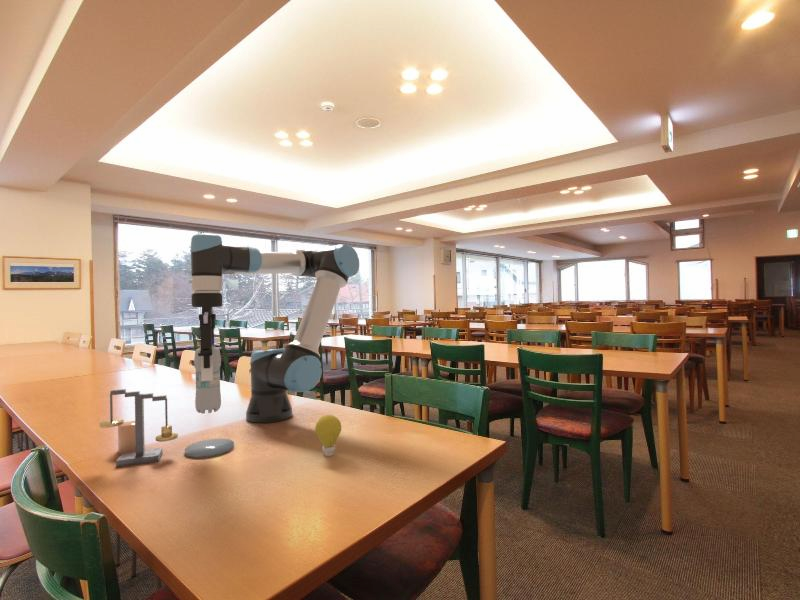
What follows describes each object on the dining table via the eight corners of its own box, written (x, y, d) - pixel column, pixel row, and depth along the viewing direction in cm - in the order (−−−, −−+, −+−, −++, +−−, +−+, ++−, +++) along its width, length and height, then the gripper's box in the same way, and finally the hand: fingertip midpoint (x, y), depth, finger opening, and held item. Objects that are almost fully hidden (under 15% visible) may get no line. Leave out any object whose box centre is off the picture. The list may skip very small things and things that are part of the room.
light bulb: (346, 451, 110) (345, 412, 110) (334, 460, 104) (333, 420, 104) (323, 448, 112) (323, 411, 112) (310, 457, 106) (309, 417, 106)
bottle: (211, 415, 109) (210, 338, 109) (188, 414, 110) (187, 338, 110) (227, 408, 115) (226, 335, 115) (205, 407, 117) (204, 335, 117)
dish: (234, 439, 120) (234, 436, 120) (233, 454, 109) (233, 450, 109) (187, 445, 116) (187, 442, 116) (181, 461, 105) (181, 457, 105)
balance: (179, 451, 112) (178, 383, 112) (176, 459, 106) (175, 387, 106) (104, 460, 106) (102, 389, 106) (96, 469, 100) (95, 394, 100)
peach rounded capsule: (146, 444, 118) (146, 419, 118) (141, 451, 112) (141, 425, 112) (121, 447, 116) (121, 422, 116) (115, 454, 110) (115, 428, 110)
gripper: (195, 293, 121) (196, 373, 120) (187, 291, 102) (188, 386, 102) (223, 293, 123) (224, 371, 123) (220, 291, 105) (221, 383, 105)
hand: (208, 377), depth 113 cm, fingers closed on bottle, 7 cm apart
